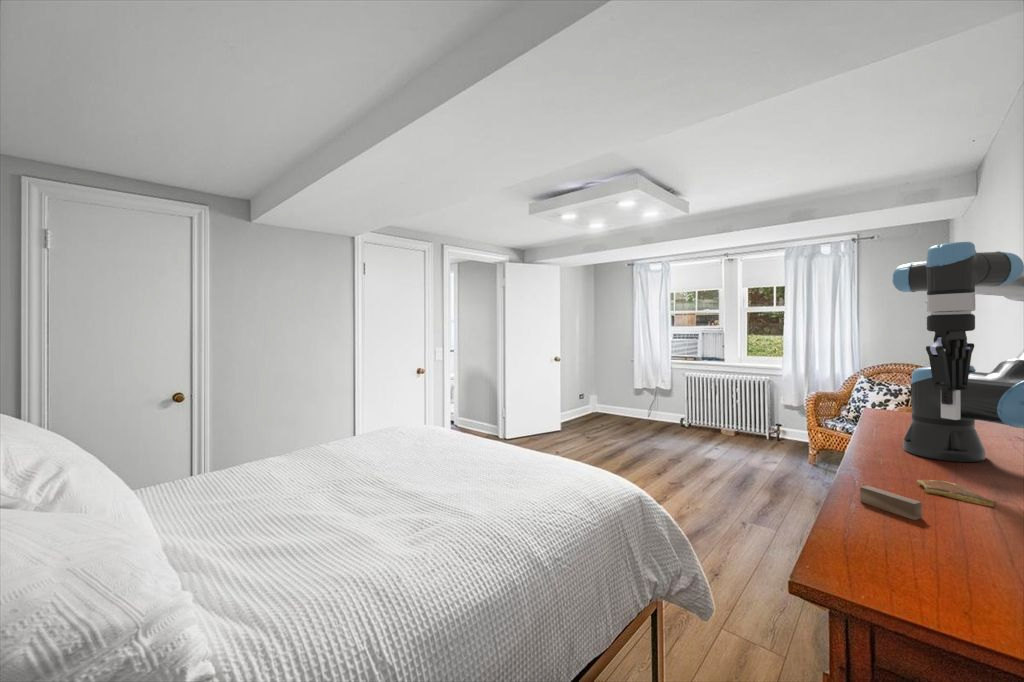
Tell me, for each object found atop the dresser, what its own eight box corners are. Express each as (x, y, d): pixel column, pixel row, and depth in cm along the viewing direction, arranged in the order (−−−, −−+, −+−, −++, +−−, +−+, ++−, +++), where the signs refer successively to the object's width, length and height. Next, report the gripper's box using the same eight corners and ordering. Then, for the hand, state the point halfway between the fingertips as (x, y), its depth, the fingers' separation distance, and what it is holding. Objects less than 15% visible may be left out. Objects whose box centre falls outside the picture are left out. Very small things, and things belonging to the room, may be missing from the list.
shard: (997, 510, 81) (997, 501, 81) (947, 507, 83) (947, 498, 83) (954, 488, 91) (954, 480, 91) (911, 486, 93) (911, 478, 93)
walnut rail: (867, 499, 86) (867, 485, 86) (921, 518, 78) (921, 502, 78) (860, 501, 86) (860, 487, 86) (914, 520, 77) (914, 504, 77)
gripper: (946, 313, 101) (947, 412, 101) (911, 314, 96) (911, 418, 97) (990, 312, 93) (990, 418, 94) (954, 313, 89) (954, 425, 90)
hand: (950, 418), depth 96 cm, fingers closed
